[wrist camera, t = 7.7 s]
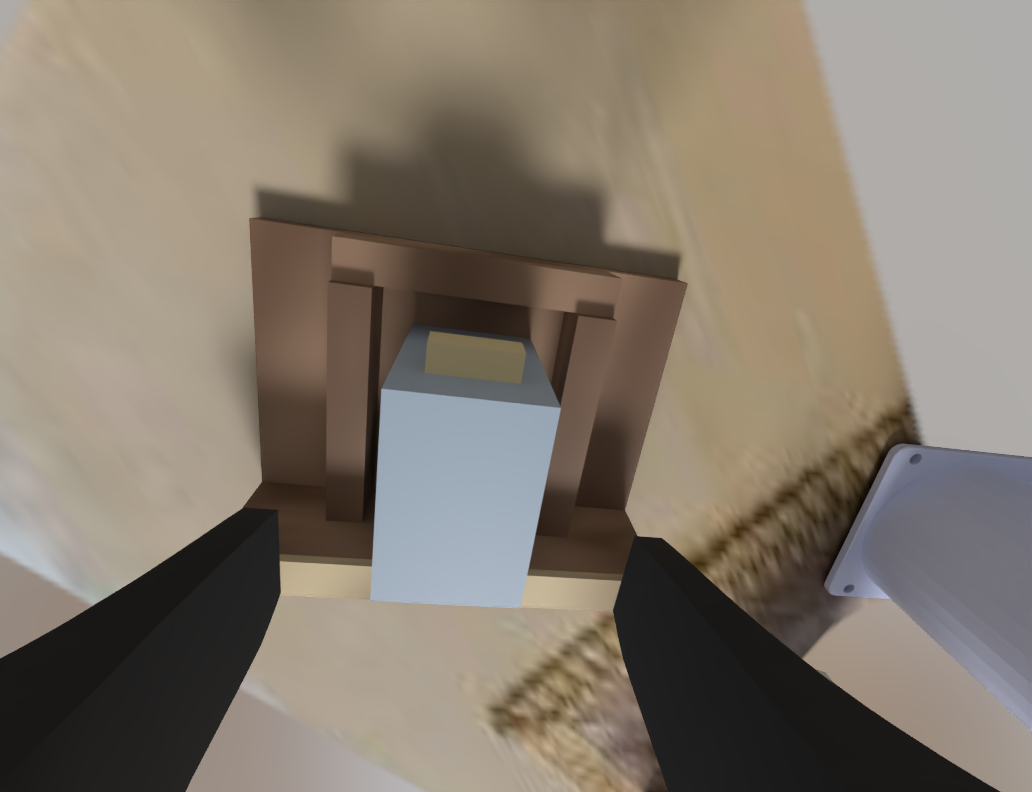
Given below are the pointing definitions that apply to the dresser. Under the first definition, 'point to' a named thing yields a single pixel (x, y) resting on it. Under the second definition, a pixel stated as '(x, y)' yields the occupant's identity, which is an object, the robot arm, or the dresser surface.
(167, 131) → the dresser surface
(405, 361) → the cabinet block
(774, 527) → the dresser surface
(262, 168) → the dresser surface
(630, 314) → the rack
